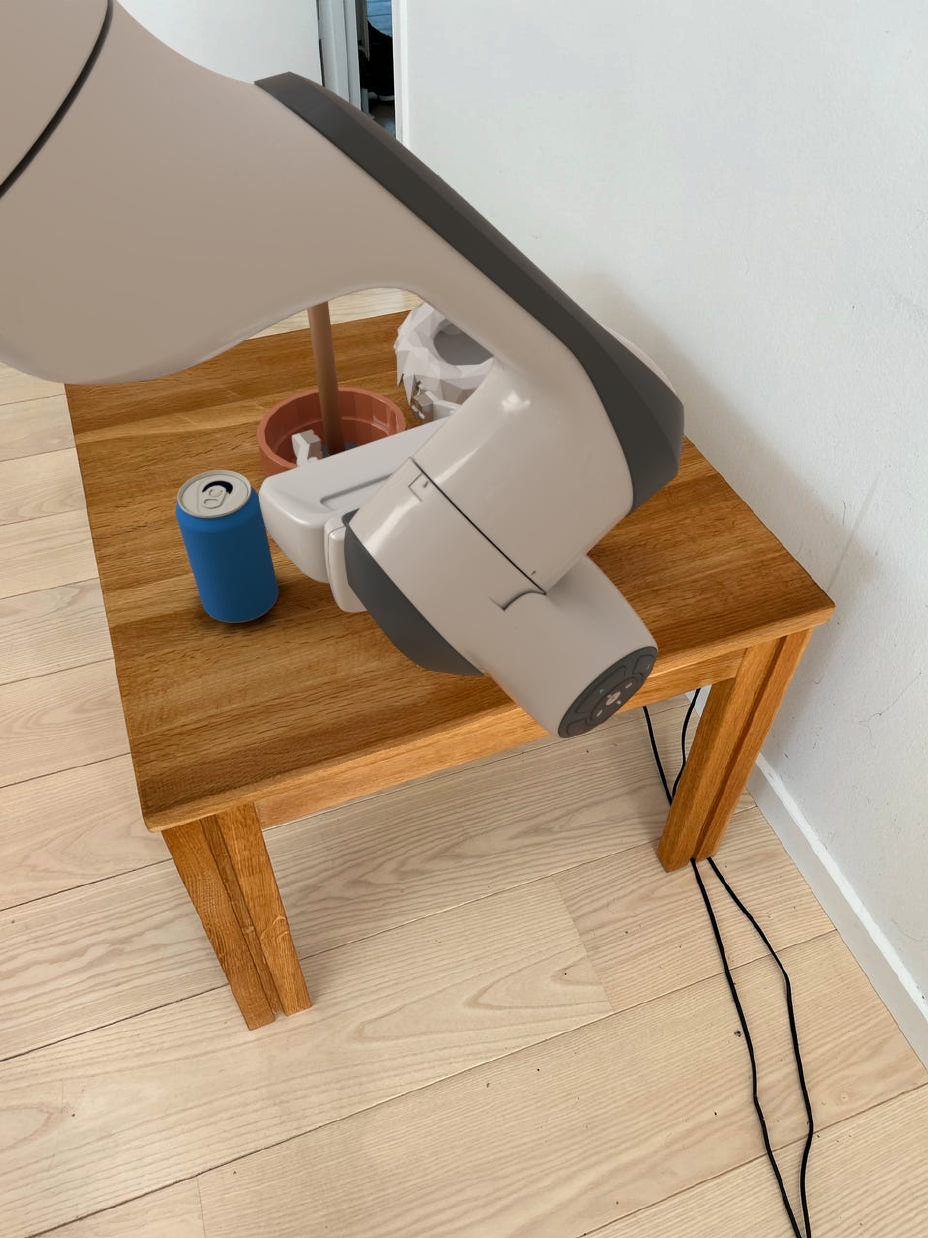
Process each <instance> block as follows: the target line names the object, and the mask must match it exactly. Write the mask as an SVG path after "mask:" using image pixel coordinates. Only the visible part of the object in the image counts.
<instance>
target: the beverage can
mask: <svg viewBox="0 0 928 1238" xmlns="http://www.w3.org/2000/svg"><path fill="white" fill-rule="evenodd" d="M176 496H177V502H176V504H175V517H176V521H177V524H178V526H179V531H180V534H181V537H182V540H183V544H184V548H185V550H186V554H187V557H188V561H189V564H190V567H191V571H192V574H193V578H194V580H195V584H196V588H197V590H198V594H199V597H200V601H201V604H202V607H203V609H204V611H205V612H206V613H207V614H208V615H209V616H210V617H211V618H213V619H215V620H217V621H220V622H224V623H230V624H231V623H232V624H235V623H236V624H237V623H245V622H249V621H252V620H255V619H258V618H260V617H261V616H263V615H265V614H267V612H268V611H269V610H271V609H272V607H273V606H274V605H275V603H276V602H277V599H278V596H279V586H278V581H277V576H276V572H275V566H274V562H273V556H272V553H271V548H270V542H269V537H268V532H267V528H266V526H265V523H264V520H263V516H262V512H261V507H260V502H259V493H258V492H257V491H256V489H255V488H254V487H253V486H252V485H251V483H250V481H249V479H248V478H247V477H246V476H244V475H243V474H241V473H239V472H236V471H233V470H227V469H215V470H209V471H205V472H201V473H198V474H196V475H194V476H192V477H190V478H189V479H188V480H187V481H185V482H184V483H183V484H182V486H180V488H179V490H178V492H177V495H176Z"/></svg>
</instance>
